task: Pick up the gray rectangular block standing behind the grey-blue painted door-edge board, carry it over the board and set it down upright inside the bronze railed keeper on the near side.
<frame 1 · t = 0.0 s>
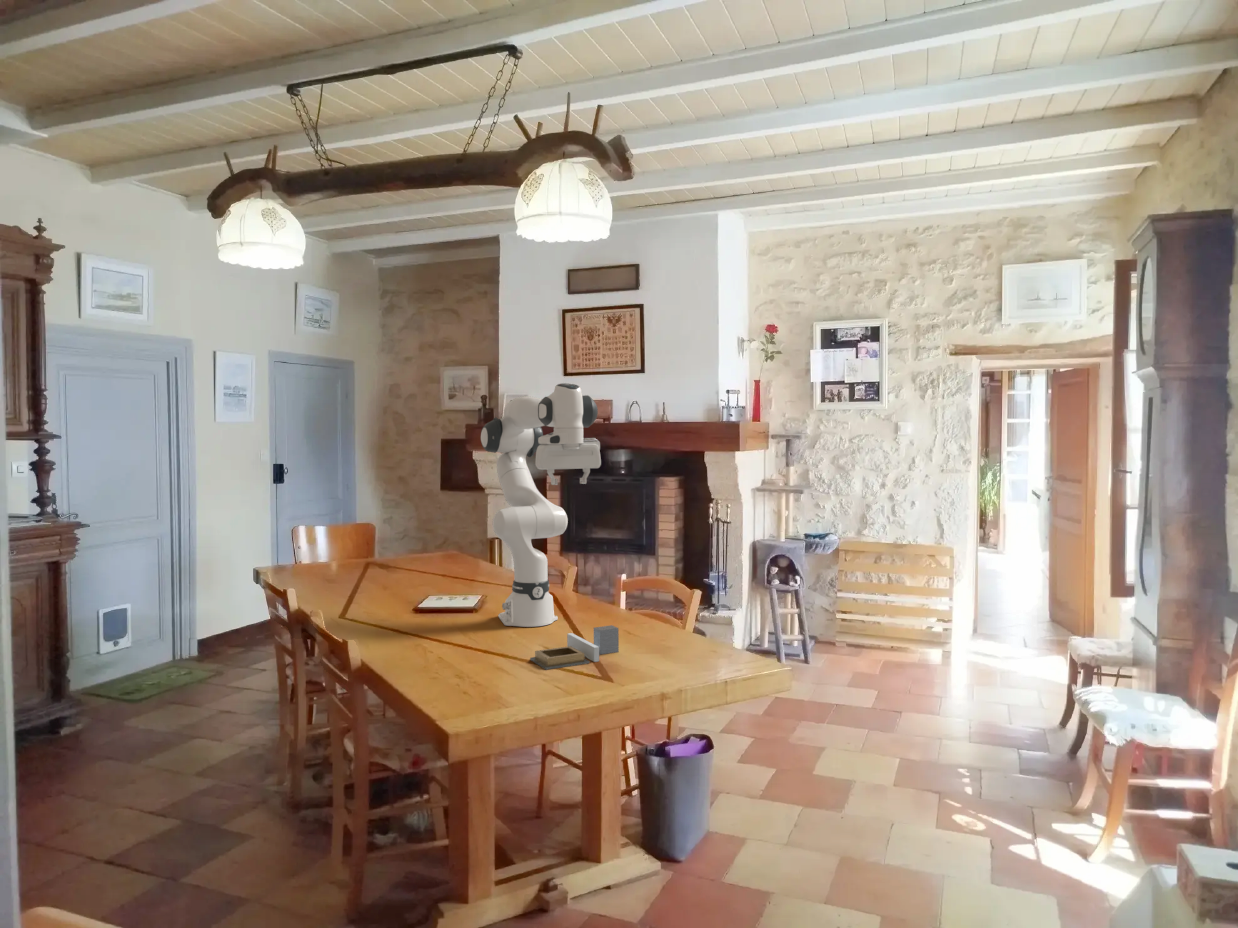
hand: (568, 484, 250), 48 cm above the table, fingers open, 8 cm apart
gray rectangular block: (606, 651, 241), on the table
door edge: (582, 653, 239), on the table
keeper: (559, 661, 231), on the table
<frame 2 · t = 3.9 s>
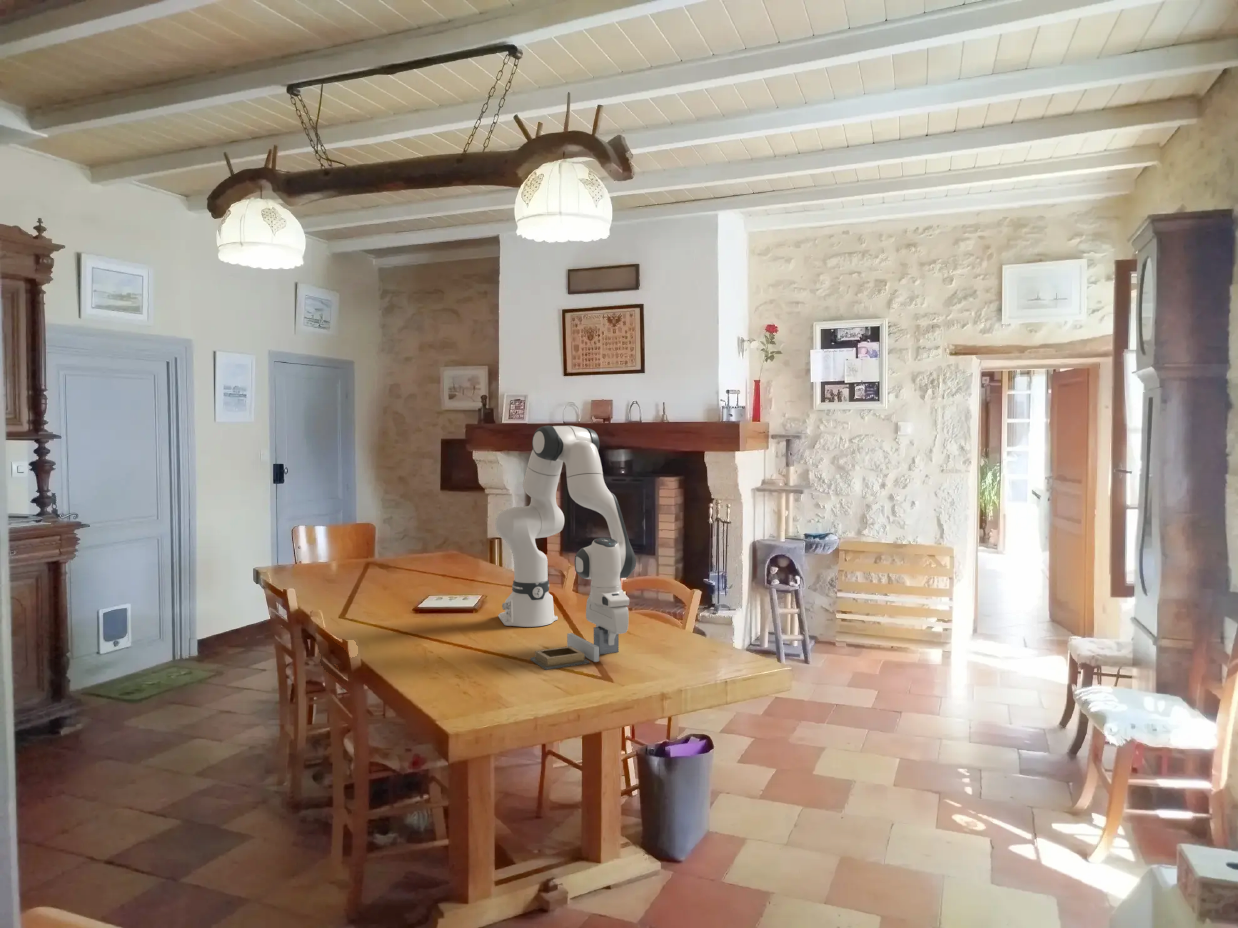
hand: (606, 642, 241), 3 cm above the table, fingers closed on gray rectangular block, 4 cm apart
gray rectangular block: (606, 651, 241), on the table, touching gripper
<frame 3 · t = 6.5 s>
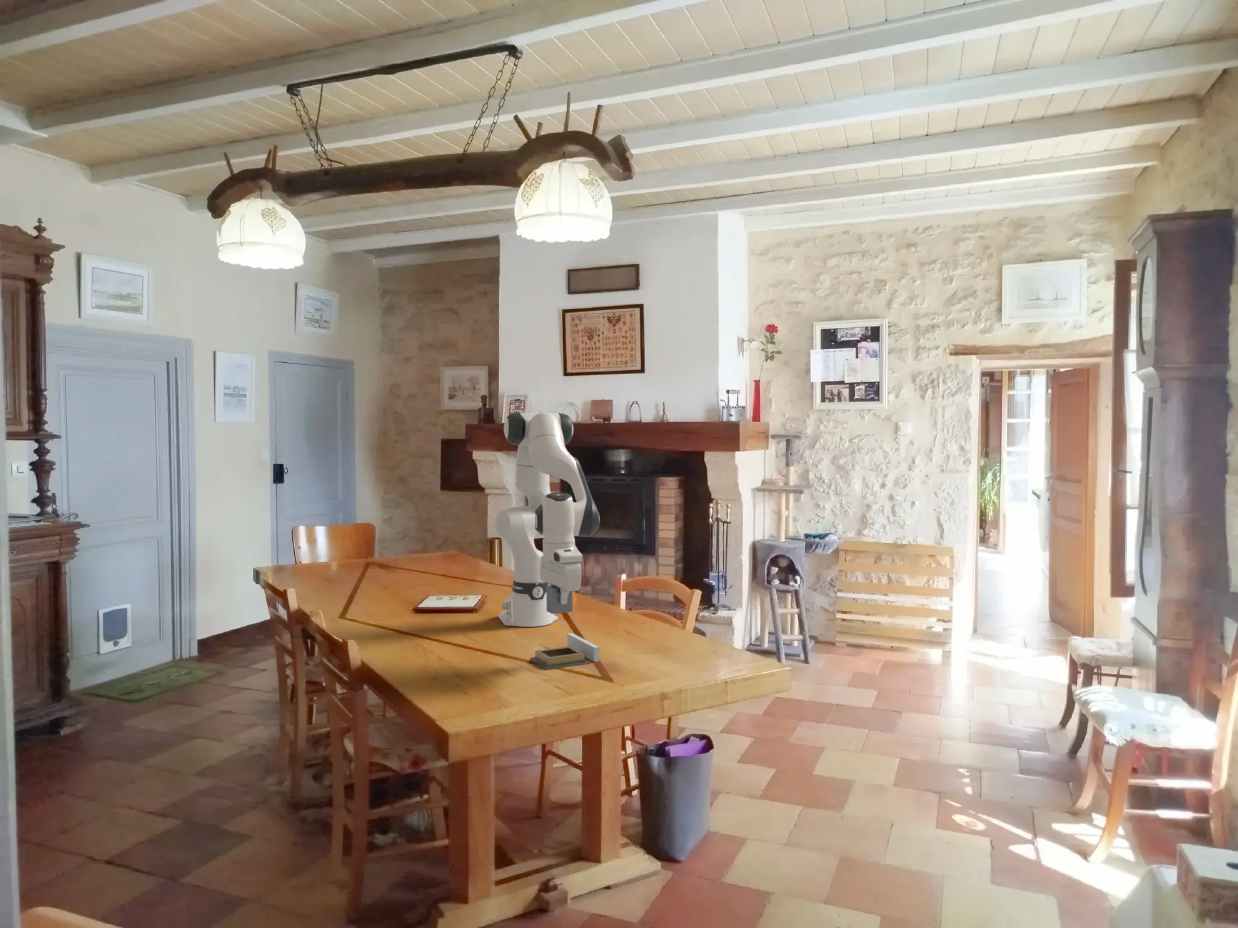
hand: (559, 601, 230), 17 cm above the table, fingers closed on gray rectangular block, 4 cm apart
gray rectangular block: (559, 611, 231), point 14 cm above the table, touching gripper
when the fingers open (5 cm above the table, at t = 8.9 s): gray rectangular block drops 1 cm, resting on keeper.
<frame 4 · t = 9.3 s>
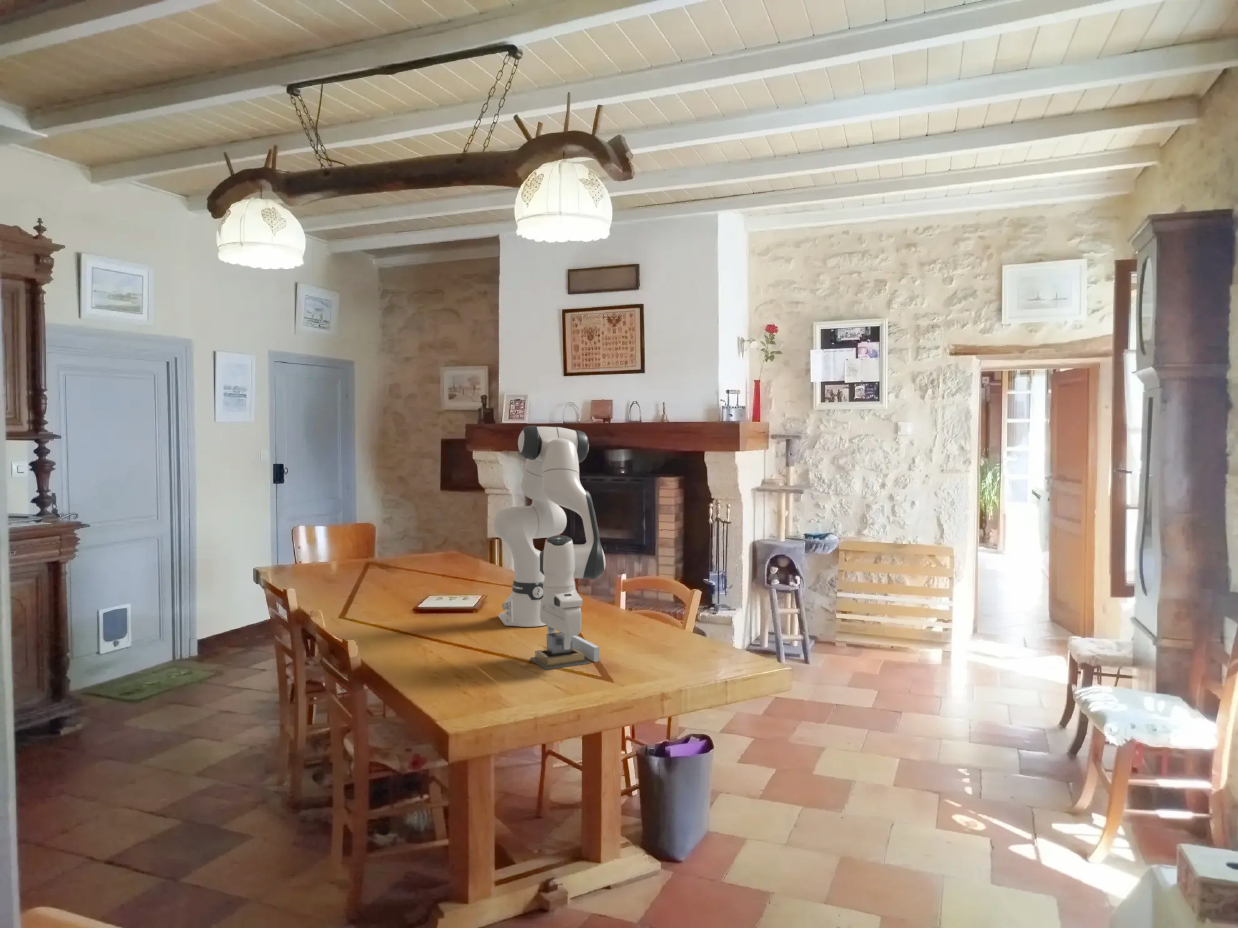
hand: (559, 645, 231), 5 cm above the table, fingers open, 8 cm apart
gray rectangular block: (559, 659, 231), point 1 cm above the table, touching keeper
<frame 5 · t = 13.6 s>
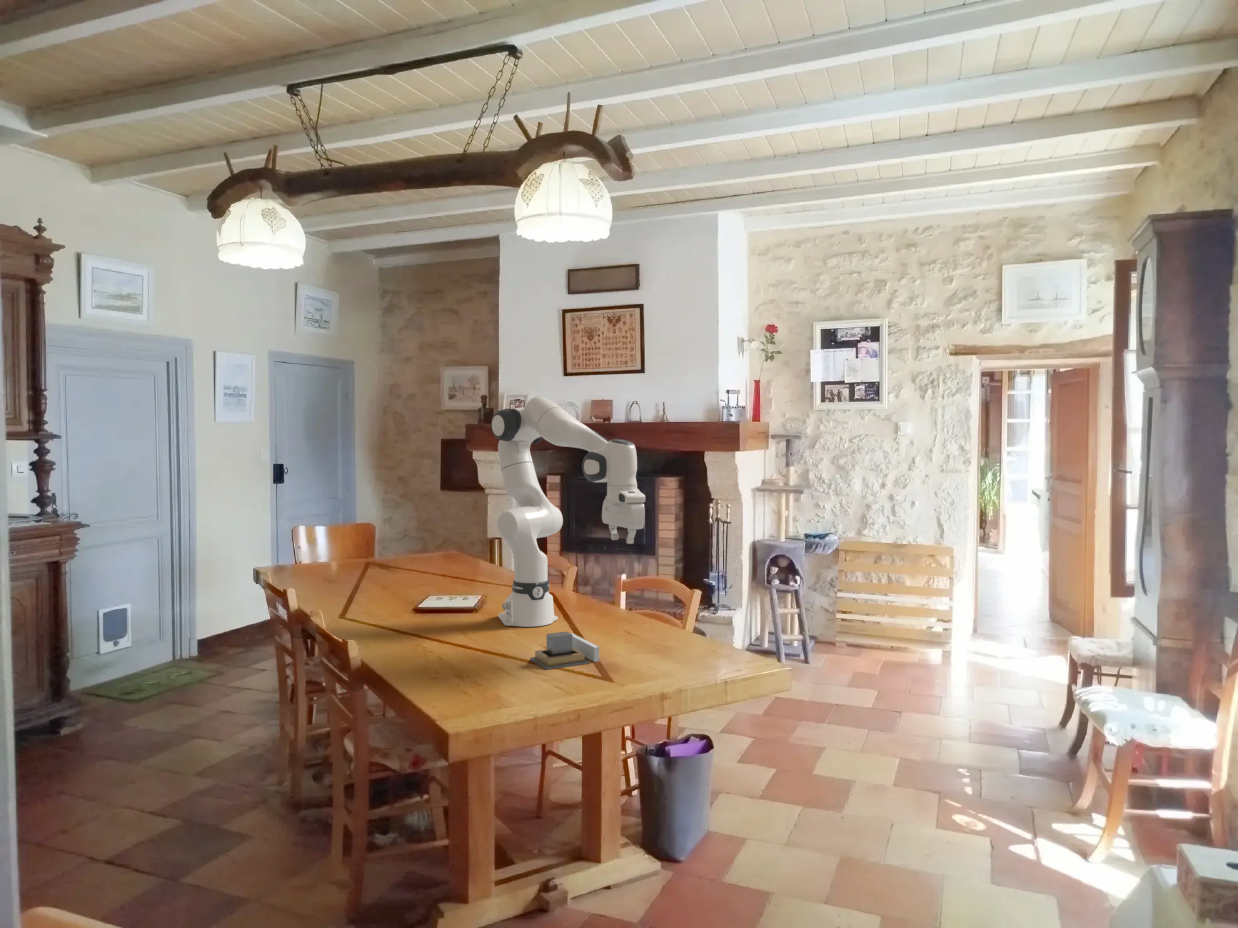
hand: (622, 541, 246), 31 cm above the table, fingers open, 8 cm apart
nothing on the table moved.
at the end: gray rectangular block inside the target area on the keeper (0.1 cm from its centre), point 0.6 cm above the keeper's base; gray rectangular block tilted 0°; the gripper is holding nothing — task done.
